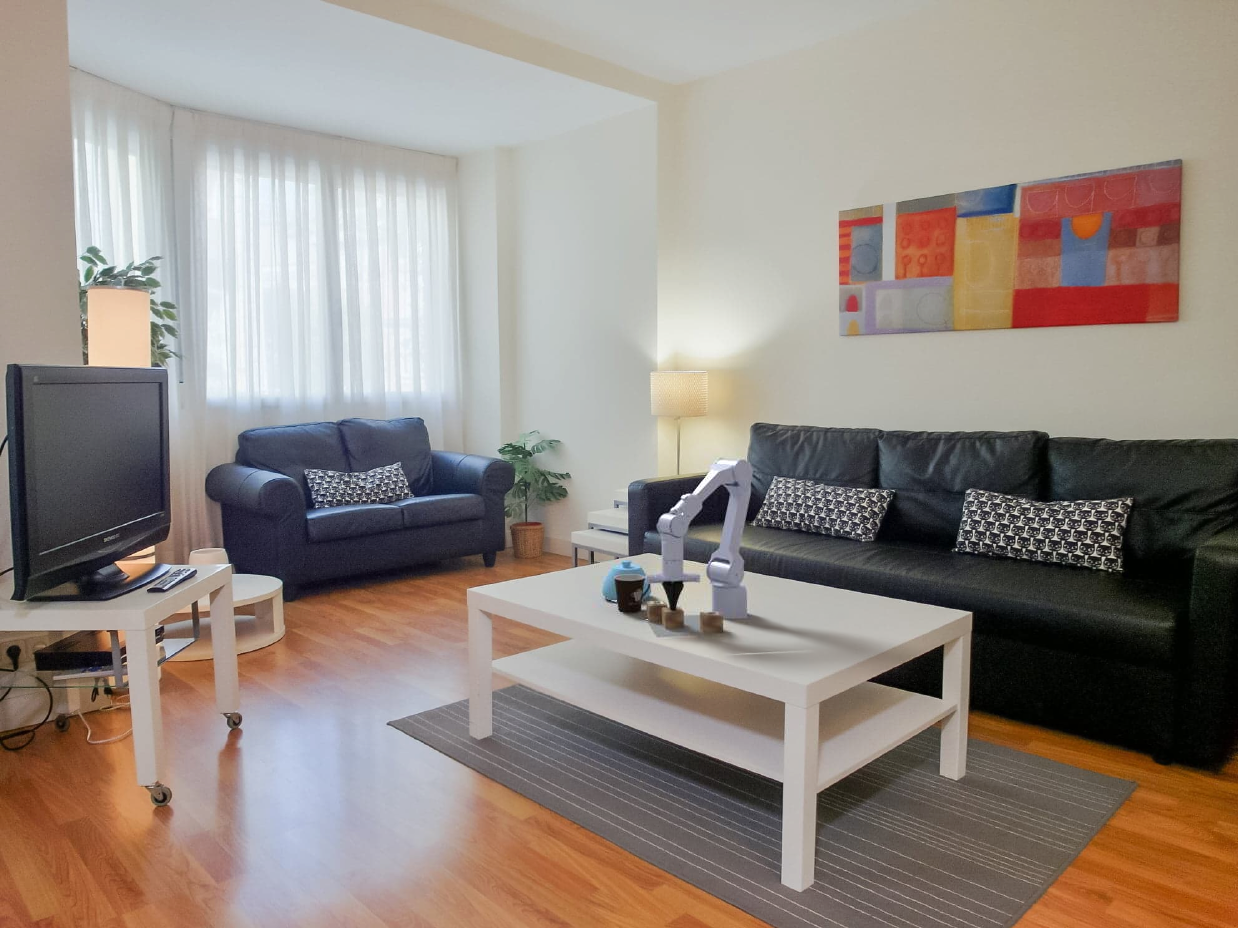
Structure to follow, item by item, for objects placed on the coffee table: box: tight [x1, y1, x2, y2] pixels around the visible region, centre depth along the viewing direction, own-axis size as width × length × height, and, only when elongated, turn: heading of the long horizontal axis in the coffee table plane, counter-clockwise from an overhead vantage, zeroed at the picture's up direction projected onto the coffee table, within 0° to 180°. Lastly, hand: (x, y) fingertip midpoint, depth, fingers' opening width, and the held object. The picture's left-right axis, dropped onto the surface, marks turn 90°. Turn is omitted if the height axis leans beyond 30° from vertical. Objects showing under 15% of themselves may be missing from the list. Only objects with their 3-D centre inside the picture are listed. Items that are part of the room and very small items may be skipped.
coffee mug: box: [614, 574, 651, 614], centre depth 254 cm, size 12×9×10 cm
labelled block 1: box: [645, 600, 669, 622], centre depth 243 cm, size 5×5×5 cm
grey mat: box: [644, 614, 726, 638], centre depth 237 cm, size 18×20×1 cm
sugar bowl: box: [601, 559, 652, 601], centre depth 270 cm, size 15×15×12 cm
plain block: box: [662, 606, 685, 629], centre depth 236 cm, size 5×5×4 cm
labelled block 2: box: [699, 611, 724, 635], centre depth 231 cm, size 5×5×5 cm
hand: (672, 609), depth 236 cm, fingers closed
